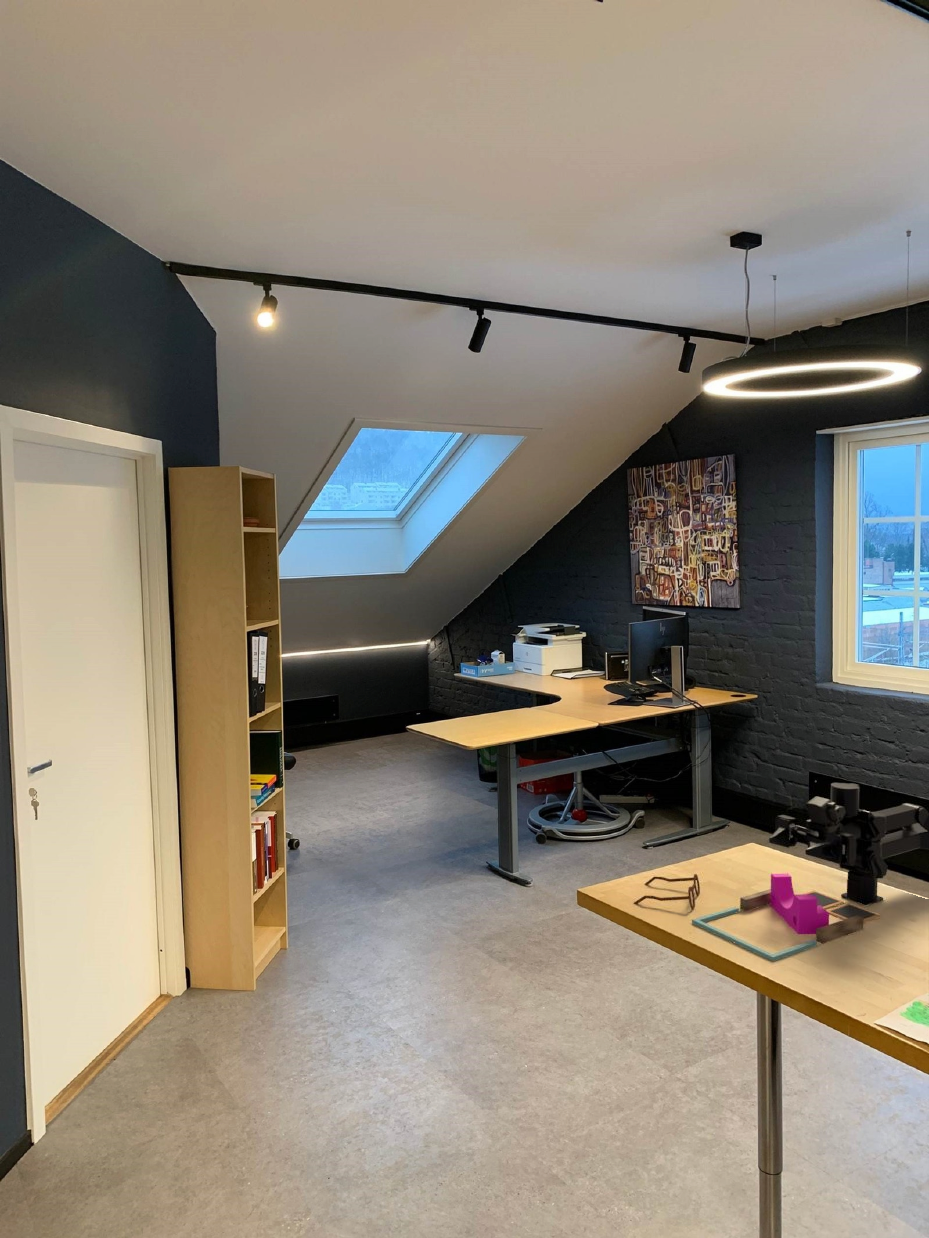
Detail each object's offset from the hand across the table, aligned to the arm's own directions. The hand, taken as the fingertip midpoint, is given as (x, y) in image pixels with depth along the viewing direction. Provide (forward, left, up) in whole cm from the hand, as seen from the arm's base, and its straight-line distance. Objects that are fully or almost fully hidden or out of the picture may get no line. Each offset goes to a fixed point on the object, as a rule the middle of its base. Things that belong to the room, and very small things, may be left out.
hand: (787, 846), depth 188 cm
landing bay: (+10, 0, -16) cm, 19 cm away
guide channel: (-4, 0, -17) cm, 17 cm away
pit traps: (-16, 0, -17) cm, 23 cm away
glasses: (+11, -24, -17) cm, 31 cm away
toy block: (-4, 0, -17) cm, 17 cm away
